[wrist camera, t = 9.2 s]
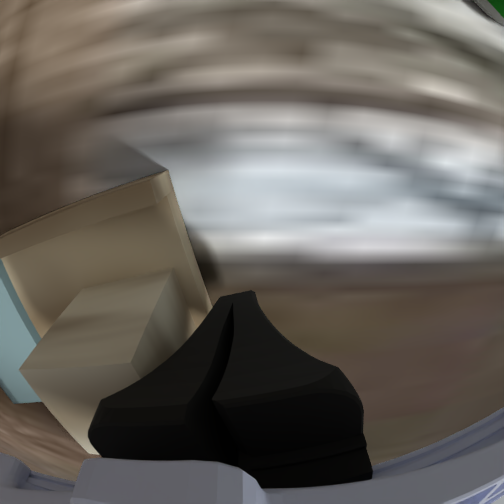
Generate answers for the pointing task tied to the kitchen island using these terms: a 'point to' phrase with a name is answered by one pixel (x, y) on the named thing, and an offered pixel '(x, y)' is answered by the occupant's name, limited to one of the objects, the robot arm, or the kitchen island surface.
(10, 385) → the panel
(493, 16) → the soda can
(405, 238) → the kitchen island surface
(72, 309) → the beige rectangular block
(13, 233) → the bed
